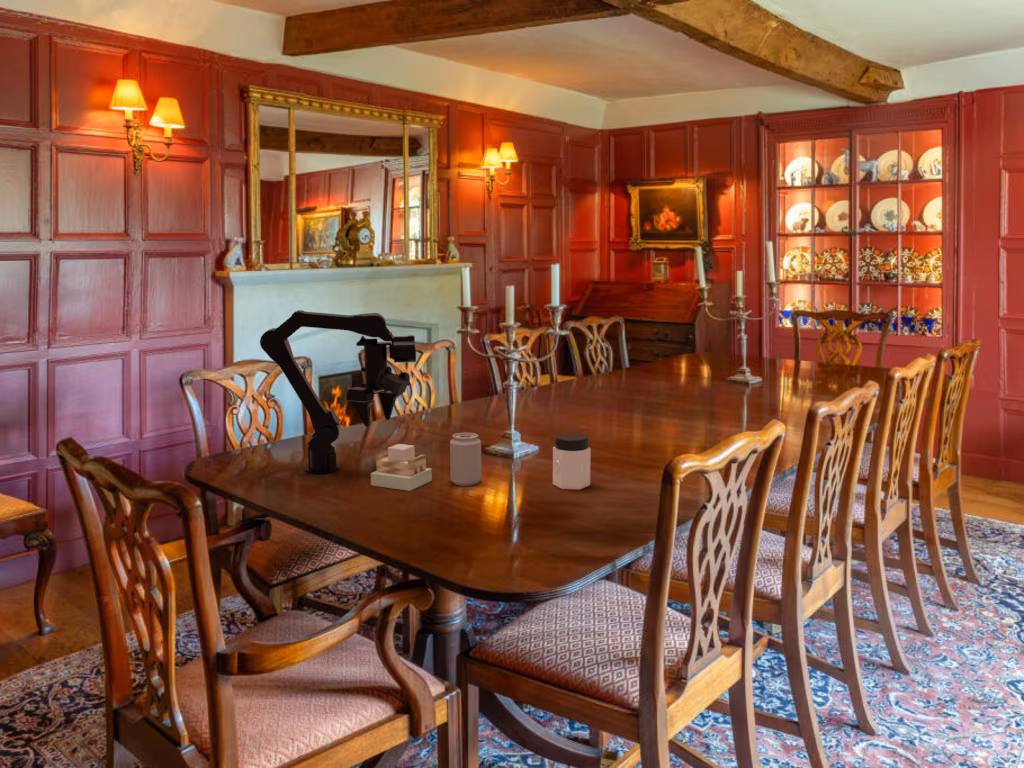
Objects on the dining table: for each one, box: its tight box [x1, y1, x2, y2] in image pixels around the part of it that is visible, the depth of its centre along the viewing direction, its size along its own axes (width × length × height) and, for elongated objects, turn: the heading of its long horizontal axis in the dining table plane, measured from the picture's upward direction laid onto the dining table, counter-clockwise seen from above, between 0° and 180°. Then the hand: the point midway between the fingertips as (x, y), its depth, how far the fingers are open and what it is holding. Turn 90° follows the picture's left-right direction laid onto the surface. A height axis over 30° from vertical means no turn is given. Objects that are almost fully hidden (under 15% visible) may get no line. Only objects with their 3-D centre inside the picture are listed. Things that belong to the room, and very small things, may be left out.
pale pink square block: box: [387, 443, 416, 462], centre depth 206 cm, size 5×5×3 cm
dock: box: [370, 467, 433, 492], centre depth 207 cm, size 11×10×3 cm
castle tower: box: [375, 451, 427, 476], centre depth 206 cm, size 10×6×4 cm, turn 64°
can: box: [449, 432, 482, 487], centre depth 206 cm, size 8×8×12 cm
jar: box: [552, 432, 592, 491], centre depth 204 cm, size 9×8×12 cm
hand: (377, 423), depth 219 cm, fingers open, 9 cm apart
